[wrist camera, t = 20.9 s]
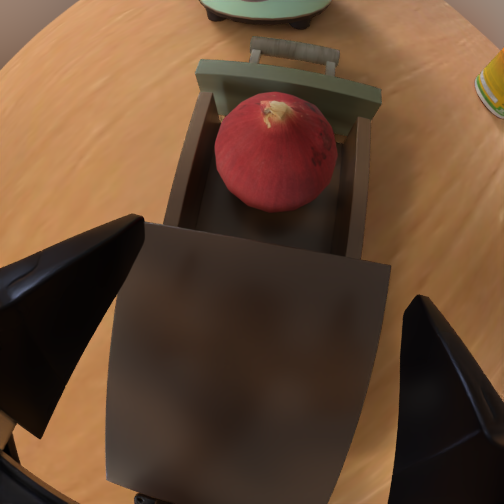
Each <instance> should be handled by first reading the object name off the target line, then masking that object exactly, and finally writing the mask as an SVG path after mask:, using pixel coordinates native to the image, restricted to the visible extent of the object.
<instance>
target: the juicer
mask: <svg viewBox="0 0 504 504" xmlns="http://www.w3.org/2000/svg"><path fill="white" fill-rule="evenodd" d="M199 1H200V3H201V4H202V5H203V6H204V7H205V8H206V10H207V16H208V18H209V19H210V20H212V21H221V20H224V19H229V20H233V21H236V22H242V23H249V24H260V25H276V24H288V23H289V25H290V26H291V27H293V28H296V29H306V28H308V27H309V26H310V21H311V17H314V16H316V15H318V14H320V13H321V12H323V11H324V10H325V9H326V8H327V7H328V6H329V4H330V3H331V0H199Z"/></svg>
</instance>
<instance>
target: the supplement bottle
mask: <svg viewBox="0 0 504 504" xmlns="http://www.w3.org/2000/svg"><path fill="white" fill-rule="evenodd" d="M475 88H476V91H477V93H478V95H479V97H480V99H481V100H482V102H483V103H484V105H485V106H486V107H487V108H488V109H489V110H490V111H491V112H492V113H493V114H494V115H496V116H497V117H499V118H502V119H504V48H503V49H502V50H501V51H500V52H499V53H498V54H497V56H496V57H495V58H494V59H493V60H492V61H491V62H490V63H489V64H488V65H487V66H486V67H485V69H484V70H483V71H482V72H481V73H480V74H479V75H478V76H477V77H476V79H475Z"/></svg>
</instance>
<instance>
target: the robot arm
mask: <svg viewBox="0 0 504 504" xmlns="http://www.w3.org/2000/svg"><path fill="white" fill-rule="evenodd" d="M144 241H145V221H144V218H143V216H140V215H136V214H129V215H127V216H124V217H121V218H119V219H116V220H113V221H111V222H108V223H106V224H103V225H101V226H98V227H96V228H93V229H91V230H88V231H86V232H83V233H81V234H79V235H76V236H74V237H71V238H69V239H67V240H64V241H62V242H60V243H57V244H55V245H53V246H51V247H48V248H46V249H44V250H42V251H39V252H37V253H35V254H33V255H31V256H28V257H26V258H24V259H22V260H19V261H17V262H15V263H12V264H10V265H7V266H5V267H2V268H0V504H79V503H78V502H76V501H74V500H72V499H71V498H69V497H67V496H65V495H64V494H62V493H61V492H59V491H57V490H56V489H54V488H53V487H51V486H50V485H48V484H46V483H45V482H44V481H42V480H41V479H39V478H38V477H36V476H35V475H33V474H32V473H31V472H29V471H28V470H27V469H25V468H24V467H22V466H21V464H20V460H19V457H18V453H17V450H16V446H15V442H14V438H13V434H12V432H13V430H14V428H15V426H16V424H17V423H18V424H19V425H20V426H22V427H23V428H24V429H26V430H27V431H28V432H30V433H31V434H33V435H34V436H35V437H37V438H38V439H41V438H42V436H43V434H44V432H45V429H46V427H47V425H48V423H49V420H50V418H51V416H52V414H53V412H54V410H55V407H56V405H57V403H58V401H59V399H60V397H61V395H62V393H63V391H64V389H65V386H66V385H67V383H68V381H69V379H70V377H71V375H72V373H73V371H74V369H75V367H76V365H77V363H78V361H79V360H80V358H81V356H82V354H83V352H84V350H85V348H86V347H87V345H88V343H89V341H90V339H91V338H92V336H93V334H94V332H95V331H96V329H97V327H98V325H99V324H100V322H101V320H102V318H103V317H104V315H105V313H106V312H107V310H108V308H109V307H110V305H111V303H112V302H113V300H114V298H115V297H116V295H117V293H118V292H119V290H120V289H121V287H122V285H123V284H124V282H125V280H126V278H127V276H128V274H129V272H130V270H131V268H132V266H133V264H134V262H135V260H136V258H137V256H138V254H139V252H140V250H141V248H142V246H143V244H144ZM140 498H141V499H140ZM134 504H174V503H171V502H167V501H164V500H160V499H157V498H154V497H151V496H147V495H144V494H141V493H137V494H136V496H135V498H134ZM388 504H504V402H503V401H502V399H501V398H500V396H499V395H498V393H497V392H496V390H495V389H494V387H493V386H492V384H491V383H490V381H489V380H488V378H487V377H486V375H485V374H483V371H482V369H481V368H480V366H479V365H478V363H477V362H476V360H475V359H474V357H473V356H472V354H471V353H470V352H469V350H468V349H467V347H466V346H465V344H464V343H463V342H462V340H461V339H460V338H459V336H458V335H457V333H456V332H455V331H454V329H453V328H452V327H451V325H450V324H449V323H448V321H447V320H446V319H445V317H444V316H443V315H442V313H441V312H440V311H439V310H438V308H437V307H436V306H435V305H434V303H433V302H432V301H431V299H430V298H429V297H427V296H424V295H420V294H419V295H416V296H415V297H414V299H413V300H412V302H411V303H410V304H409V306H408V307H407V309H406V310H405V312H404V315H403V324H402V339H401V351H400V394H399V415H398V430H397V441H396V451H395V460H394V468H393V475H392V481H391V487H390V493H389V499H388Z"/></svg>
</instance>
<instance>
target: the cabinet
mask: <svg viewBox="0 0 504 504" xmlns="http://www.w3.org/2000/svg"><path fill="white" fill-rule="evenodd" d="M390 272H391V265H387V264H382V263H376V262H371V261H366V260H360V259H355V258H350V257H344V256H339V255H333V254H328V253H322V252H317V251H311V250H306V249H300V248H295V247H289V246H284V245H278V244H272V243H267V242H261V241H255V240H250V239H244V238H238V237H233V236H227V235H221V234H215V233H209V232H204V231H198V230H192V229H186V228H180V227H174V226H168V225H162V224H156V223H150V222H145V241H144V244H143V246H142V248H141V250H140V252H139V254H138V256H137V258H136V260H135V262H134V264H133V266H132V268H131V270H130V272H129V274H128V276H127V278H126V280H125V282H124V284H123V285H122V287H121V289H120V290H119V292H118V293H117V300H116V306H115V313H114V321H113V328H112V337H111V346H110V356H109V367H108V380H107V397H106V426H105V452H106V480H107V481H110V482H112V483H115V484H117V485H120V486H122V487H125V488H128V489H131V490H133V491H136V492H139V493H142V494H145V495H148V496H151V497H154V498H158V499H161V500H164V501H168V502H171V503H175V504H328V501H329V499H330V497H331V494H332V492H333V490H334V487H335V485H336V482H337V480H338V477H339V475H340V472H341V470H342V467H343V464H344V462H345V459H346V456H347V453H348V451H349V448H350V445H351V442H352V439H353V436H354V433H355V430H356V427H357V423H358V420H359V417H360V414H361V410H362V407H363V403H364V400H365V396H366V393H367V389H368V385H369V381H370V377H371V373H372V369H373V365H374V361H375V356H376V352H377V347H378V342H379V338H380V333H381V328H382V322H383V317H384V311H385V305H386V299H387V293H388V286H389V279H390Z"/></svg>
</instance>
